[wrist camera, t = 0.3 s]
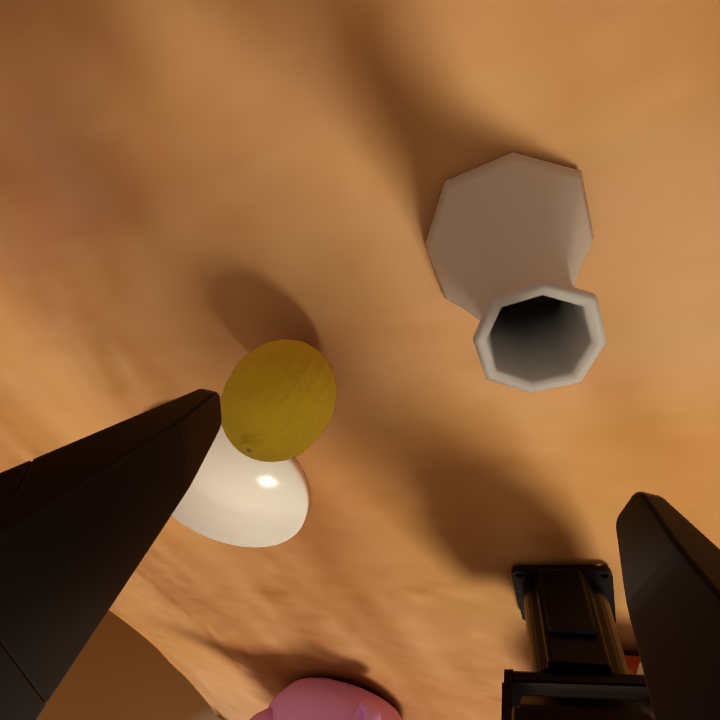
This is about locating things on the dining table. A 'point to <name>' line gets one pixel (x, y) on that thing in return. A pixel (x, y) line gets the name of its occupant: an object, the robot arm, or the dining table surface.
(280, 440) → the lemon
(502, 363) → the flask
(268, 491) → the plate
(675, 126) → the dining table surface
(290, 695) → the teapot
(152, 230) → the dining table surface
